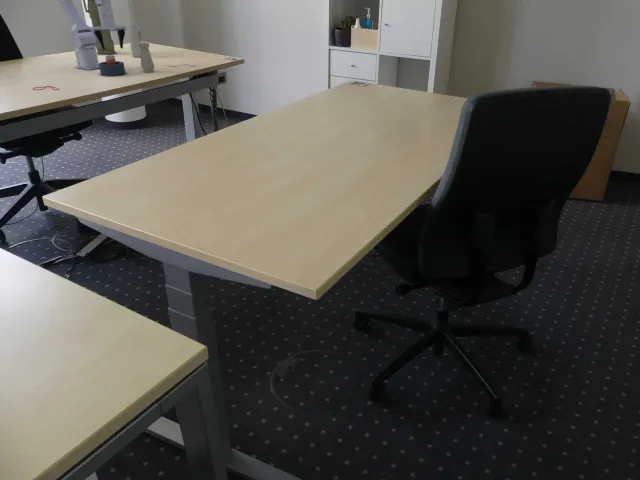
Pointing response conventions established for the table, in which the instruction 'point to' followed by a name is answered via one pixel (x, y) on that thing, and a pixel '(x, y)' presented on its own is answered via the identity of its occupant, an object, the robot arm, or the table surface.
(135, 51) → the energy drink can
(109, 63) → the shaker
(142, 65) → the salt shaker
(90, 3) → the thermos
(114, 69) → the dark blue bowl
